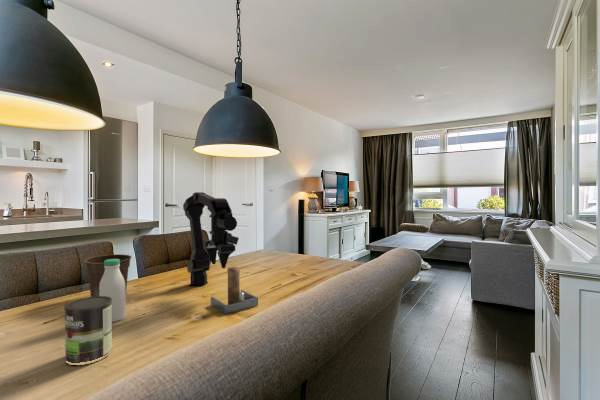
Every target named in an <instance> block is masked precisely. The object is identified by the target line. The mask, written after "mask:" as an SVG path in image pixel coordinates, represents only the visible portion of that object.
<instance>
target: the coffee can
mask: <svg viewBox="0 0 600 400" xmlns="http://www.w3.org/2000/svg"><path fill="white" fill-rule="evenodd" d="M63 309H64V320H65V321H64V326H65V329H64V331H65V333H64V334H65V337H64V338H65V340H64V341H65V342H64V343H65V360H66V361H68V362H71V363H80V362H87V361H92V360H95V359H98V358H100V357H103V356H105V355H107V354H108V353H109V352H110V351H111V350H112V351H113V346H112V345H113V343H112V342H113V341H112V340H113V339H112V336H113V333H112V330H113V329H112V328H113V326H112V323H113V322H112V298H110V297H106V296H94V297H91V296H87V297H82V298H78V299H75V300H72V301H70V302H68V303H66V304H65V305H64V308H63Z"/></svg>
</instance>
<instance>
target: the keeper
mask: <svg viewBox="0 0 600 400" xmlns="http://www.w3.org/2000/svg"><path fill="white" fill-rule="evenodd" d="M210 306H212V307H213V308H214V309H216V310H217V311H219V312H220V313H222V314H223V315H228V314H233V313H235V312H239V311H243V310H247V309H251V308H255V307H258V306H259V297H258V296H256V295H253V294H251V293H249V292H247V291H245V290H240V293H239V302H235V303H231V304H228V303H227V304H226V303H223V302H222V301H220V300H219V299H217V298H215V297H214V296H211V297H210Z"/></svg>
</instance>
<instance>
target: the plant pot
mask: <svg viewBox="0 0 600 400" xmlns="http://www.w3.org/2000/svg"><path fill="white" fill-rule="evenodd" d="M108 259H120V266H119V269H120V272H121V274H122V276H123V278H124V280H125V292H126V293H127V286H128V275H129V268H130V266H131V259H132V255H129V254H117V253H116V254H106V255H98V256H92V257H91V256H90V257H88V258H86V259H84V263H85V267H86V272H87V275H88V284H89V291H90V297H94V296H99V284H100V281H101V279H102V277H103V274H104V271H105V267H104V261H105V260H108Z"/></svg>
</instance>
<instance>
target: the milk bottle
mask: <svg viewBox="0 0 600 400" xmlns="http://www.w3.org/2000/svg"><path fill="white" fill-rule="evenodd" d="M119 266H120V259H108V260H105V261H104V267H105V271H104V274H103V277H102V279H101V281H100V284H99V296H106V297H110V298H112V323H114V322H115V323H116V322H119V321H121V320H123V319H124V318H126V315H127V314H126V313H127V307H126V304H127V302H126V301H127V300H126V296H127V291H126V292H125V280H124V278H123V276H122V274H121V272H120V269H119Z"/></svg>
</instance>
